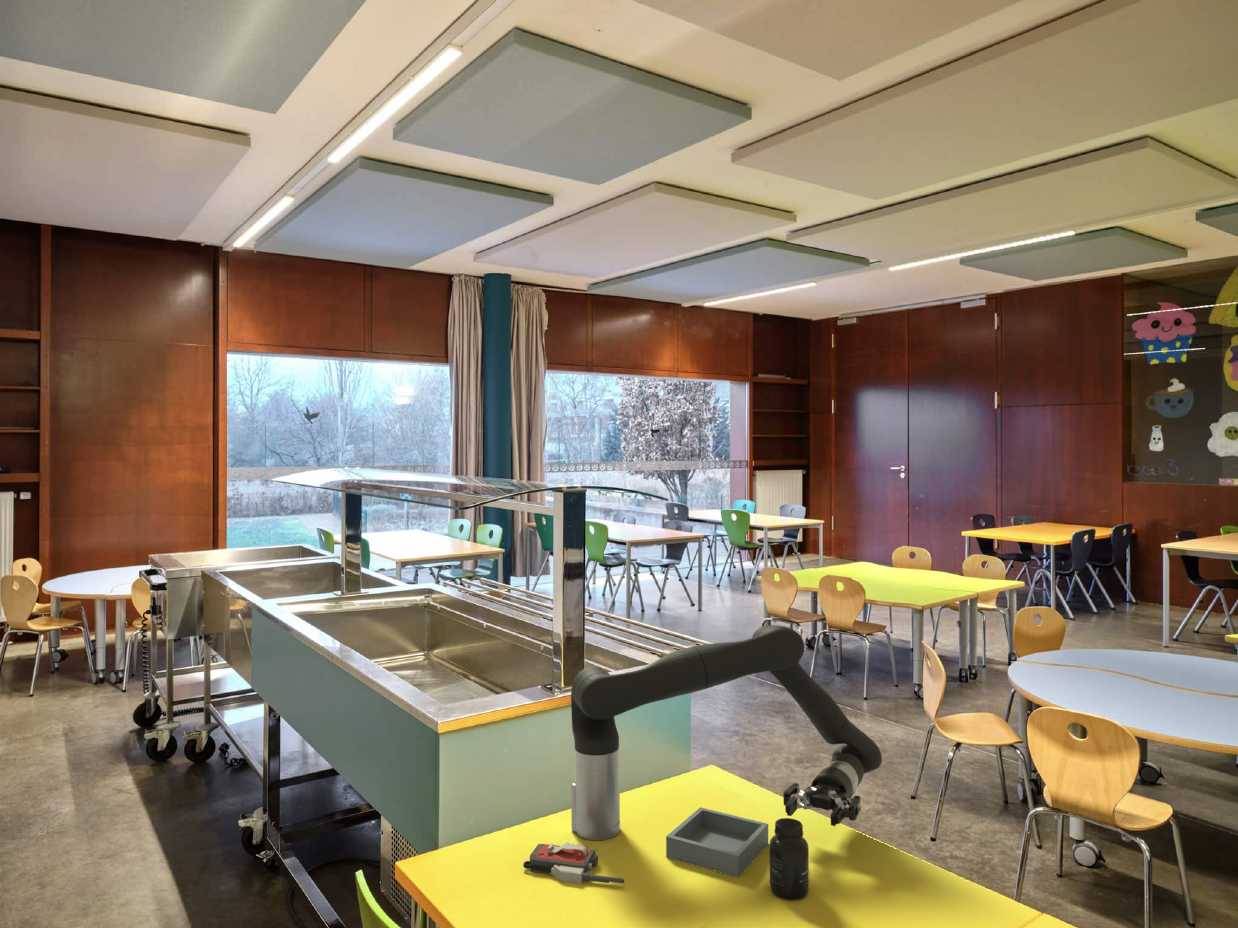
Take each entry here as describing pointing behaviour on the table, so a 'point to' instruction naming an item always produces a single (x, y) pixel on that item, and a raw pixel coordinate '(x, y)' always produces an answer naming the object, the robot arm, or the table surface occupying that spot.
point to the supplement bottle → (789, 860)
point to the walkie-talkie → (567, 863)
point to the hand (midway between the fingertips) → (810, 815)
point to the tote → (717, 841)
